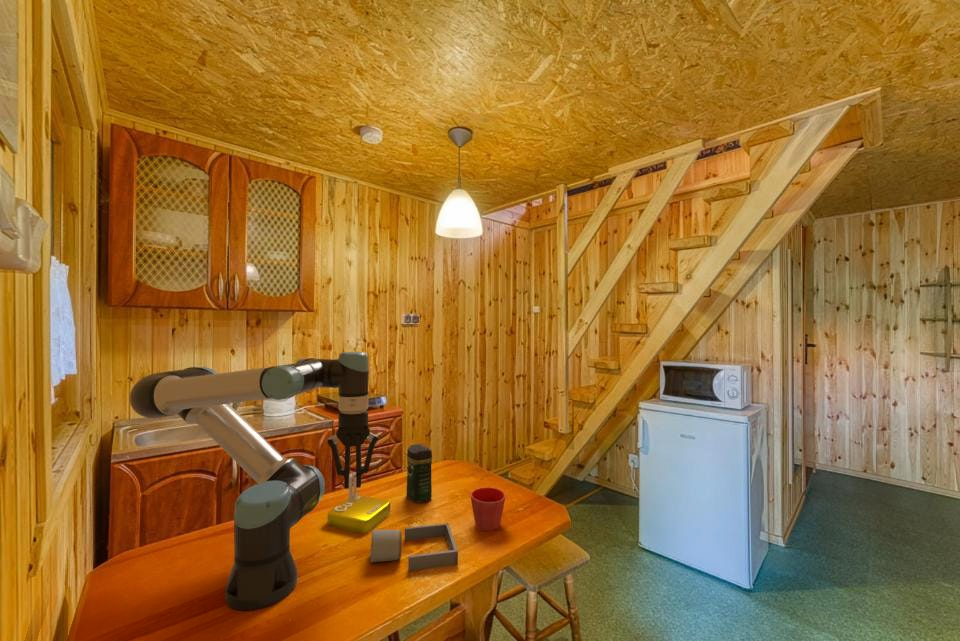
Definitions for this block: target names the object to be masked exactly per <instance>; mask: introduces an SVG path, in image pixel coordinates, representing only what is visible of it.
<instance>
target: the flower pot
mask: <svg viewBox="0 0 960 641" xmlns="http://www.w3.org/2000/svg"><path fill="white" fill-rule="evenodd" d="M470 500H471V507H472V515H473V519H474V524H475V527H476V528H477V529H478V528H479V530H480V529H481V531H483V530H485V531H487V532H493V531H495V529H496V530H498V529H499V528H500V527H499V526H501V523H502V518H503V512H504V505H505V501H506V494H505V492H504V491H503V490H501V489H499V488H495V487H488V486H487V487H479V488H475V489H474V490H472V491H471V493H470ZM497 528H498V529H497ZM492 530H493V531H492ZM485 531H484V532H485Z"/></svg>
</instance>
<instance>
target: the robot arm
mask: <svg viewBox="0 0 960 641" xmlns="http://www.w3.org/2000/svg"><path fill="white" fill-rule="evenodd" d="M369 364H370V363H369V355H368V354H367V352H364V351H345V352H343V351H342V352H341V353H339V355H338V358H337V359H331V358H330V359H328V358H314V357H310V358H300V359H298V360H296V362H295V363H289V364H284V365H283V364H282V365H276V366H275V365H274V366H268V367H261V368H250V369H243V370H235V371H229V372H220V373H218V371H216V370H214V369H213V368H210V367H205V366H199V367H198V366H192V367H191V366H190V367H186V368H184V369H183V368H182V369H178V370H177V369H176V370H170V371H168V370H167V371H163V372H156V373H150V374H149V375H145V376H144V377H142V378H140V379H139V380H138V381H137V382H136V383H135V384H134V385H133V387H132V388H131V390H130V393H129V403H130V407H131V409H133V411H134V412H135V413H137V414H138V415H139V416H141V417H144V418H148V419H162V418H167V417H170V416H175V415H177V416H179V417H180V418H181V419H183V422H185V423H186V424H189V425H198V426H199V427H200V428H201V429H202V430H203V431H204V432H205V433H206V434H207V435H208V436H209V437H210V438H211V439H212V441H214V442H215V443H216V444H217V445H218V446H219V447H220V448H221V449H223V451H224V452H226V454H227V455H229V457H230V458H231V459H232V460H233V461H235V462H236V463H237V465H238V466H240V467H241V468H242V469H243V470H244V472H245V473H247V475H249V476H250V477H251V478H252V480H254V482H256V483H257V484H254V485H252V486H249V487H248V488H246V489H245V490H244V491H242V492H241V494H240V495H239V496H238V497H237V498H236V501H235V505H234V511H233V521H234V523H233V526H234V528H233V530H234V535H233V537H234V538H233V540H234V548H233V549H234V551H233V552H234V553H233V554H234V558H233V559H234V560H233V564H232V568H231V571H230V574H229V576H228V579H227V582H226V586H225V591H224V594H225V595H224V599H225V600H224V601H225V603H226V605H227V606H228V607H229V608H231V609H234V610H239V611H254V610H258V609H259V610H260V609H262V608H266V607H269V606H271V605H273V604H276V603H277V602H279V601H281V600H283V599H284V598H286V597H287V596H288V595H290V593H292V592H293V590H294V589H295V587H296V586H297V582H298V568H297V565H296V563H295V560H294V556H293V555H292V553H291V549H290V547H291V546H290V544H291V542H290V541H291V540H290V539H291V538H290V536H291V534H290V533H291V528H293V527H294V526H295V525H296V524H297V523H299V521H301V520H302V519H303V518H304V517H305V516H306V515H307V514H309V513H311V512H312V511H313V510H314V509H315V508H317V505H318V504H319V503H320V502H321V501H322V500H323V497H324V494H325V491H326V488H325V486H326V483H325V479H324V476H323V474H322V472H321V471H320V470H319V469H318V468H317V467H316V466H313V465H311V464H310V465H306V464H303V465H301V464H300V463H299V462H298V460H297V459H295V458H293V457H291V458H290V457H289V458H286V457H284V456H283V455H282V453H280V452H279V451H278V450H277V449H276V448H275V447H274V446H273V445H271V443H269V442H268V440H267V439H266V438H265V437H263V436H262V435H261V433H259V432H258V431H257V430H256V429H255V428H254V427H253V426H252V425H251V424H250V423H249V422H248V421H247V420H246V419H245V418H244V416H242V415H241V414H240V413H239V412H238V411H237V410H235V408H234V407H232V405H230V404H237V403H246V402H252V401H253V402H254V401H262V400H269V399H272V400H275V401H276V400H277V401H278V400H279V401H281V400H287V399H291V398H293V397H295V396H297V395H301V394H304V393H307V392H310V391H313V390H316V389H319V388H321V389H322V388H329V389H330V388H332V389H333V388H334V389H336V388H337V389H338V411H339V412H338V415H337V416H338V417H337V418H338V420H337V421H338V423H337V424H338V426H337V427H338V428H337V430H336V434H333V436H329V437H328V438H327V444H328V446H329V447H330V449H331V452H332V453H331V454H332V457H333V461H334V462H333V463H334V465H335V466H334V467H335V470H336V471H335V472H336V474H337V475H338V476H342V477H344V482H343V484H344V489H345V490H347V489H348V498H349V502H352V496H353V502H356V498H357V495H358V492H357V490H358V489H360V488H361V486H362V475H364V474H368V472H369V468H370V464H371V459H372V456H373V452H374V448H375V445H376V444H377V442H378V440H379V435H378V434H376V433H373V432H372V431H371V430H370V427H369V411H368V409H369V380H370V379H369V375H370V374H369V373H370V368H369V366H370V365H369ZM367 438H368V442H369V445H368V448H367V452H366V456H365V459H364V460H365V461H364V464H363V467H362V445H363V444H364V443H365V441H367ZM338 442H341V444H342V445H343V446H344V468H343V465H342V461H341V456H340V451H339V448H338ZM352 447H355V462H356V463H355V470H356V472H354V473H352V472H351V470H350V469H351V448H352Z"/></svg>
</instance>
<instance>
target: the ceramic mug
mask: <svg viewBox="0 0 960 641" xmlns="http://www.w3.org/2000/svg"><path fill="white" fill-rule="evenodd" d="M370 539H371V542H370V555H369V556H370V557H369V558H370V559H369V561H370V563H381V562H392V561H397V560H400V559H401V558H402V551H403V550H402V549H403V532H402V530H399V529H372V530H371V538H370Z"/></svg>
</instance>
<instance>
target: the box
mask: <svg viewBox="0 0 960 641" xmlns="http://www.w3.org/2000/svg"><path fill="white" fill-rule="evenodd" d="M444 537H446V541H447V544H448V548H449V550H446V551H445V550H443V551H436V552H428V553H422V554H412V555H411V554H410V555H407V556H408V558H407V559H408V562H407V563H408V564H407V567H408V572H413V571H420V570H428V569H435V568H442V567H443V568H444V567H450V566H458V565H459V560H458V559H459V551H458V547H457V545H456V541H455V539H454V535H453V532H452V530H451V527H450V523H448V522H445V523H437V524H428V525H419V526H409V527H404V541H405V542H411V541H417V540H429V539H436V538H444Z"/></svg>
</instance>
